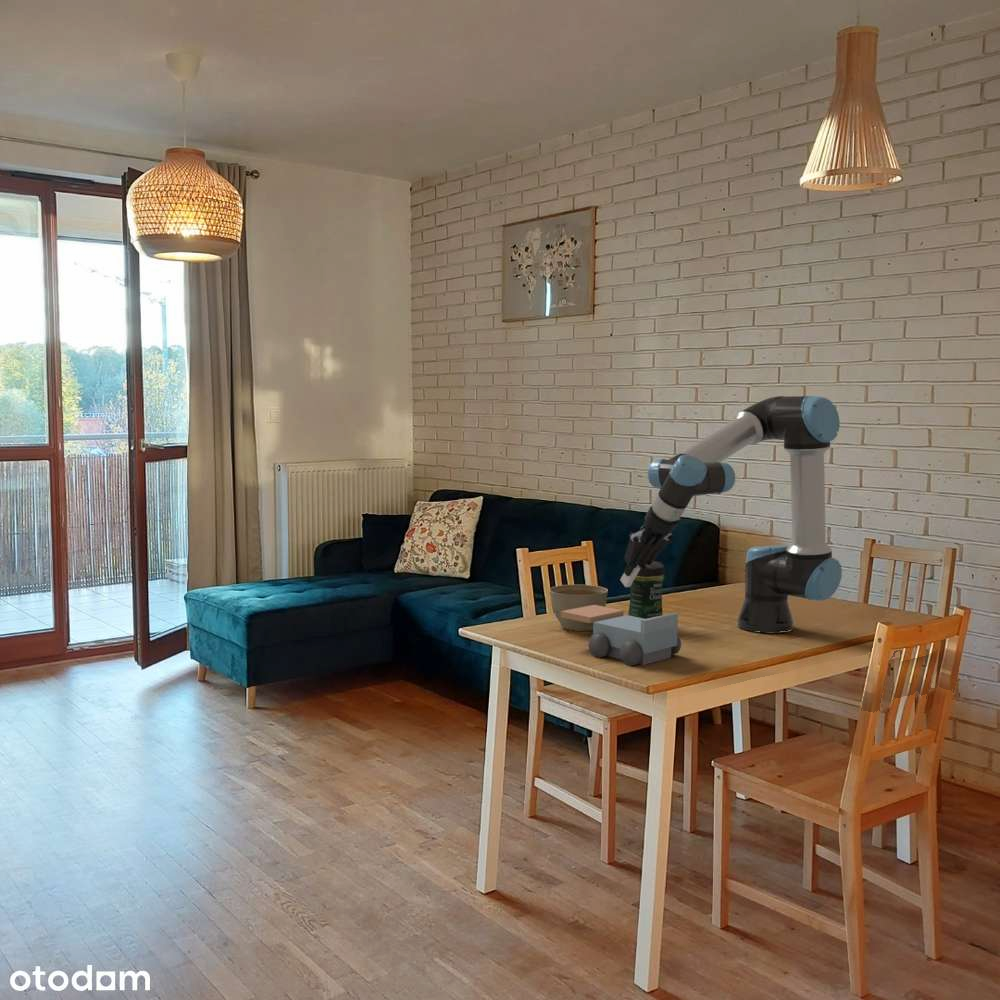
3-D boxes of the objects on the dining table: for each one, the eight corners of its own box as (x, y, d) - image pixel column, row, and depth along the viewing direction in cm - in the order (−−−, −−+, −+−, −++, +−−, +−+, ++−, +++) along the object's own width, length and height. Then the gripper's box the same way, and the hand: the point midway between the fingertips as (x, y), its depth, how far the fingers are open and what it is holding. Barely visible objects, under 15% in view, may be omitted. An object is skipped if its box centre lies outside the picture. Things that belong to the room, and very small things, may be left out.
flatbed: (681, 656, 250) (682, 612, 249) (638, 667, 239) (639, 621, 238) (630, 644, 262) (631, 602, 261) (587, 655, 250) (588, 611, 249)
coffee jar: (643, 632, 277) (644, 564, 275) (623, 626, 283) (624, 560, 281) (668, 627, 283) (669, 561, 281) (647, 622, 289) (649, 558, 287)
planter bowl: (575, 619, 292) (576, 582, 291) (618, 628, 280) (619, 590, 279) (536, 627, 281) (537, 588, 280) (579, 637, 269) (580, 597, 268)
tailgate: (623, 610, 261) (594, 604, 268) (590, 617, 252) (560, 611, 259) (623, 617, 261) (594, 611, 268) (590, 624, 252) (560, 618, 259)
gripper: (652, 523, 237) (611, 595, 250) (693, 522, 244) (652, 592, 257) (636, 502, 242) (597, 574, 255) (677, 502, 249) (637, 571, 262)
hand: (625, 583), depth 256 cm, fingers closed
